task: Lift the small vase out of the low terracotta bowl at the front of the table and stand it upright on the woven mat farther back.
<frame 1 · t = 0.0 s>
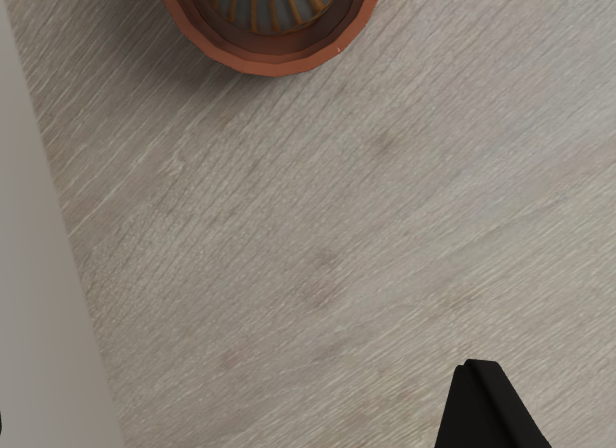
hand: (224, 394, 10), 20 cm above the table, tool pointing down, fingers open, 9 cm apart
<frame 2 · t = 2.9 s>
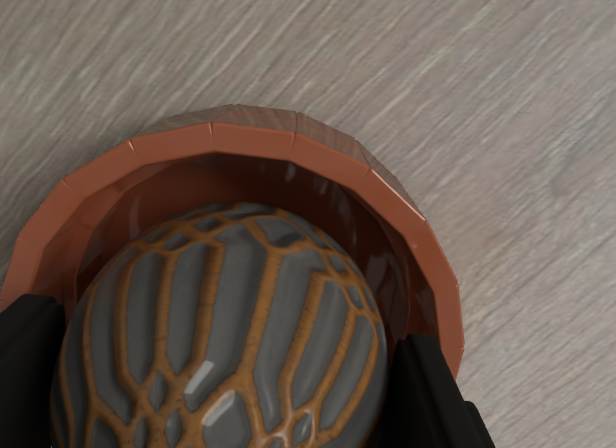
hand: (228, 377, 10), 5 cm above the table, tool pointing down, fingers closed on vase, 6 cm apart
bowl: (252, 278, 15), on the table
vase: (250, 284, 15), resting on bowl, touching gripper
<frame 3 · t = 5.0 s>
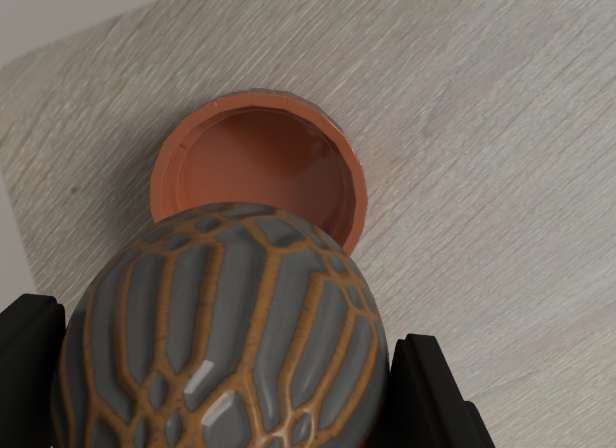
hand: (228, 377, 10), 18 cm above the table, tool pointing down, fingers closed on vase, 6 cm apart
bowl: (264, 184, 27), on the table
vase: (250, 284, 15), point 13 cm above the table, touching gripper
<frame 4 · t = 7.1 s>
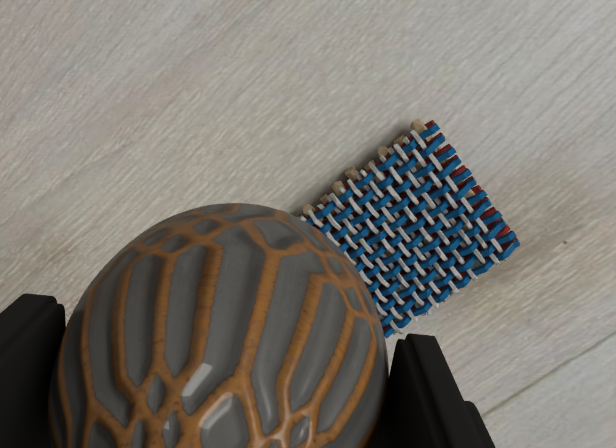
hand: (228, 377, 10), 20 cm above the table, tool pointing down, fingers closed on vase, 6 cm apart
woven mat: (399, 229, 31), on the table
vase: (249, 285, 15), point 15 cm above the table, touching gripper
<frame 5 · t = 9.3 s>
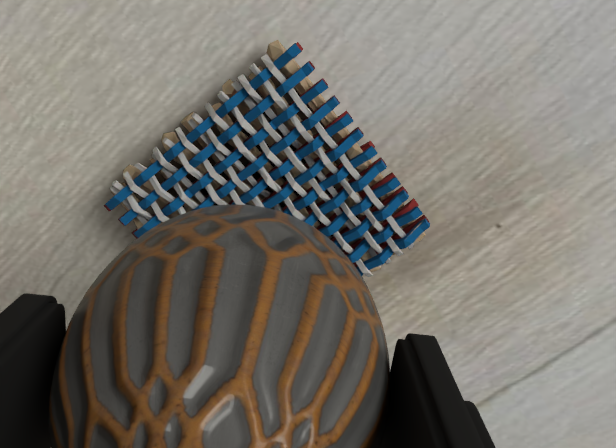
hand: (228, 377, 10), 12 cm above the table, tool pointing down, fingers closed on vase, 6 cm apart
woven mat: (269, 204, 22), on the table
vase: (250, 286, 15), point 8 cm above the table, touching gripper
when the fingers open (6 cm above the table, at t = 11.2 s): vase stays where it is, resting on woven mat.
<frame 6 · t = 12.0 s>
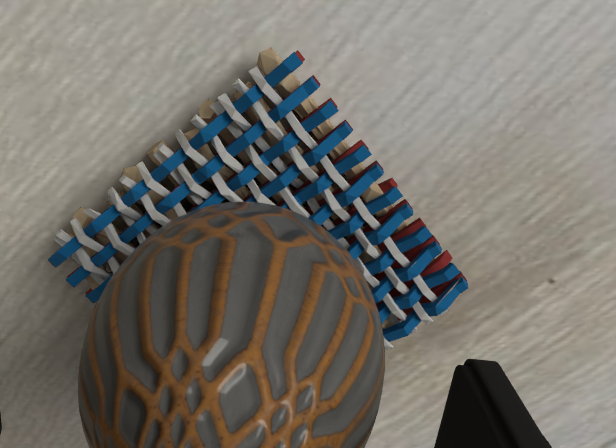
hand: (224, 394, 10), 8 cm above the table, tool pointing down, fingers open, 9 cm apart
woven mat: (262, 254, 18), on the table, touching vase
vase: (256, 280, 16), point 2 cm above the table, touching woven mat
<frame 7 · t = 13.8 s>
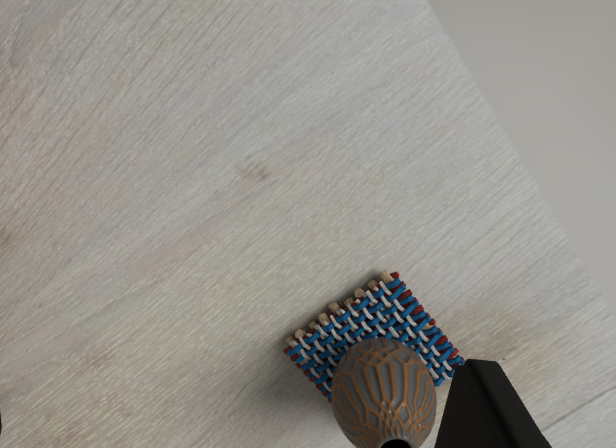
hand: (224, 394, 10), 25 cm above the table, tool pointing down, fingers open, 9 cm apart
woven mat: (372, 346, 39), on the table, touching vase
vase: (375, 362, 37), point 2 cm above the table, touching woven mat
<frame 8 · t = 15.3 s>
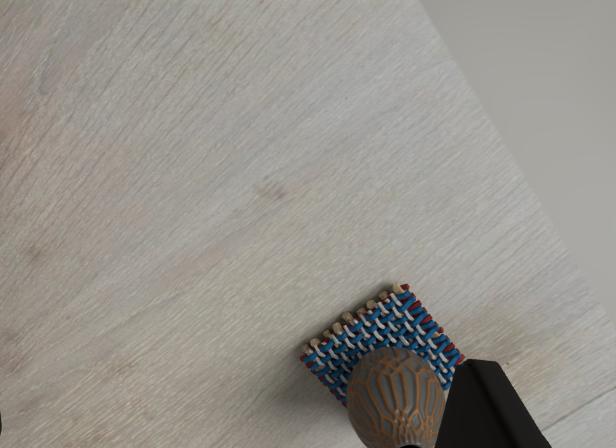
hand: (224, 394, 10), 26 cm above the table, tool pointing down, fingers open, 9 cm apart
woven mat: (382, 353, 41), on the table, touching vase
vase: (386, 368, 39), point 2 cm above the table, touching woven mat
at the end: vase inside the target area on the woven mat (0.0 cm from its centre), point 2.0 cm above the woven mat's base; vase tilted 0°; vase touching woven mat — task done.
